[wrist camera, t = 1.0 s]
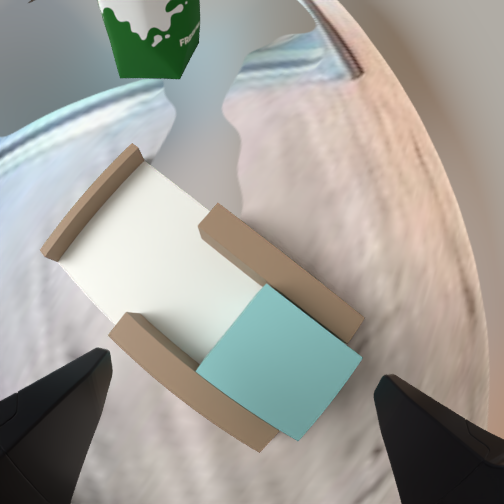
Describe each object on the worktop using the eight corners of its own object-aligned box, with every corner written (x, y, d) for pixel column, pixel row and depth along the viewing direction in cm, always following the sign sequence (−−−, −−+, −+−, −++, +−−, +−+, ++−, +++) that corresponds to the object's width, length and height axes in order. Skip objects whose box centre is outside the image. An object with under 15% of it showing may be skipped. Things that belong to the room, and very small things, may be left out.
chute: (353, 326, 21) (375, 326, 17) (265, 439, 18) (271, 459, 15) (140, 159, 23) (128, 136, 19) (56, 257, 20) (32, 247, 17)
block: (333, 350, 20) (363, 357, 15) (282, 415, 18) (298, 441, 14) (257, 292, 20) (266, 283, 15) (203, 358, 19) (195, 371, 14)
